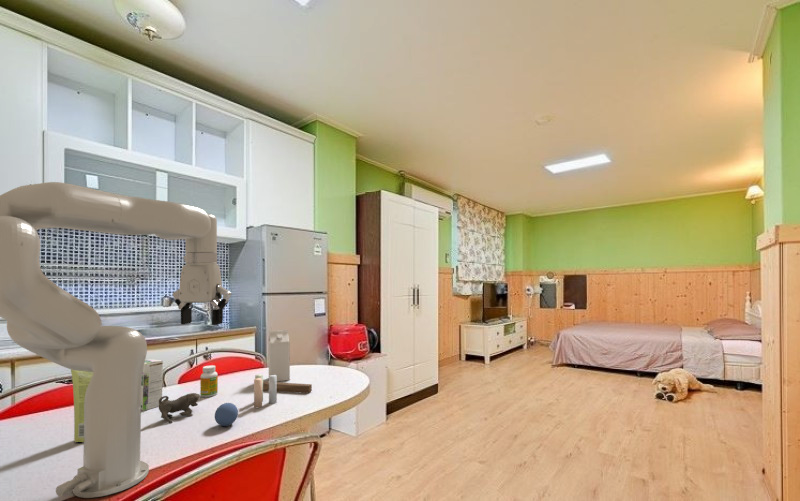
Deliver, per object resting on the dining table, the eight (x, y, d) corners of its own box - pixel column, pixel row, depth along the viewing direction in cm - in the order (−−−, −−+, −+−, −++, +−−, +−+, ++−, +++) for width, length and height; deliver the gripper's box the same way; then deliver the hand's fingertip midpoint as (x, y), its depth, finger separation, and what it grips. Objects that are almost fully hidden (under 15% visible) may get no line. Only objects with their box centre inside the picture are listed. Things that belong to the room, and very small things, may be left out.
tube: (84, 434, 104) (86, 360, 105) (105, 433, 104) (106, 360, 105) (68, 444, 98) (70, 366, 99) (90, 443, 99) (91, 365, 100)
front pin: (259, 408, 122) (259, 380, 122) (252, 407, 122) (252, 380, 123) (263, 405, 124) (263, 378, 124) (257, 404, 125) (257, 378, 125)
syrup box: (133, 408, 123) (133, 362, 124) (151, 402, 128) (152, 358, 129) (144, 411, 121) (145, 363, 121) (163, 405, 126) (163, 359, 127)
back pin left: (260, 402, 126) (260, 376, 127) (253, 402, 127) (253, 376, 127) (264, 400, 129) (264, 374, 129) (258, 399, 129) (258, 374, 130)
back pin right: (274, 403, 125) (273, 377, 126) (267, 403, 126) (267, 376, 126) (278, 401, 128) (277, 375, 128) (271, 400, 128) (271, 374, 129)
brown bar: (309, 393, 135) (309, 386, 135) (258, 390, 140) (258, 383, 140) (311, 391, 137) (311, 384, 137) (261, 388, 142) (261, 381, 142)
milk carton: (268, 378, 155) (268, 330, 156) (286, 375, 158) (286, 328, 159) (270, 382, 149) (270, 332, 150) (289, 380, 152) (289, 331, 153)
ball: (228, 430, 105) (228, 407, 105) (209, 428, 106) (209, 406, 107) (242, 421, 111) (242, 400, 111) (224, 420, 112) (224, 399, 112)
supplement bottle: (210, 397, 132) (210, 368, 133) (196, 397, 133) (196, 368, 134) (220, 392, 138) (221, 365, 138) (207, 392, 139) (207, 364, 139)
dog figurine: (163, 426, 109) (163, 399, 109) (154, 421, 113) (154, 395, 113) (205, 412, 119) (205, 387, 119) (196, 408, 122) (196, 384, 123)
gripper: (162, 260, 103) (163, 325, 102) (220, 258, 99) (220, 326, 98) (184, 260, 110) (184, 321, 109) (238, 259, 106) (239, 322, 105)
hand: (201, 323), depth 104 cm, fingers open, 9 cm apart
